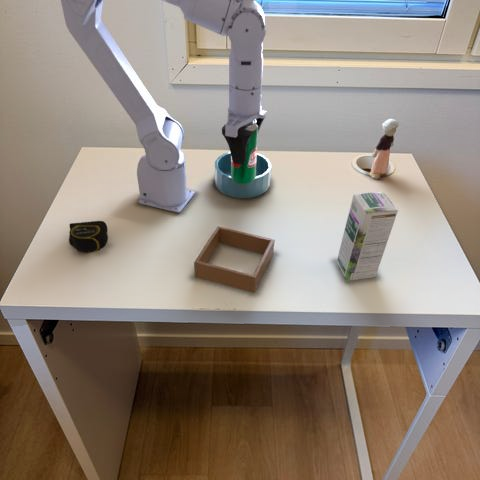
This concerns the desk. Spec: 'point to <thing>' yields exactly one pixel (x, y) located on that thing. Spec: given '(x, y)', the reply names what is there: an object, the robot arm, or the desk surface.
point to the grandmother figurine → (383, 149)
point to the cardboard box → (228, 275)
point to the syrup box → (366, 235)
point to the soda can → (247, 159)
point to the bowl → (242, 190)
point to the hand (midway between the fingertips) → (243, 156)
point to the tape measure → (88, 236)
